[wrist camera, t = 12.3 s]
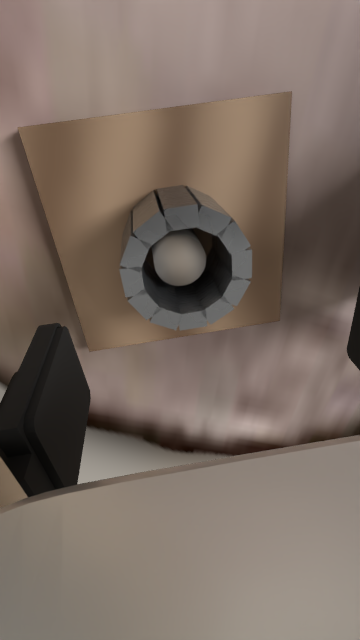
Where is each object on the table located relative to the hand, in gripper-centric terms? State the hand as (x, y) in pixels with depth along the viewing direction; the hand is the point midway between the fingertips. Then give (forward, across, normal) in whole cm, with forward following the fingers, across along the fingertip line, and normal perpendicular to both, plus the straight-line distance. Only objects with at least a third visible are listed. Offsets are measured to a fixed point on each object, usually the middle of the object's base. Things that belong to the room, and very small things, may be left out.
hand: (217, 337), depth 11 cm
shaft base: (+12, 0, +1) cm, 12 cm away
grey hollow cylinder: (+11, 0, +1) cm, 11 cm away
